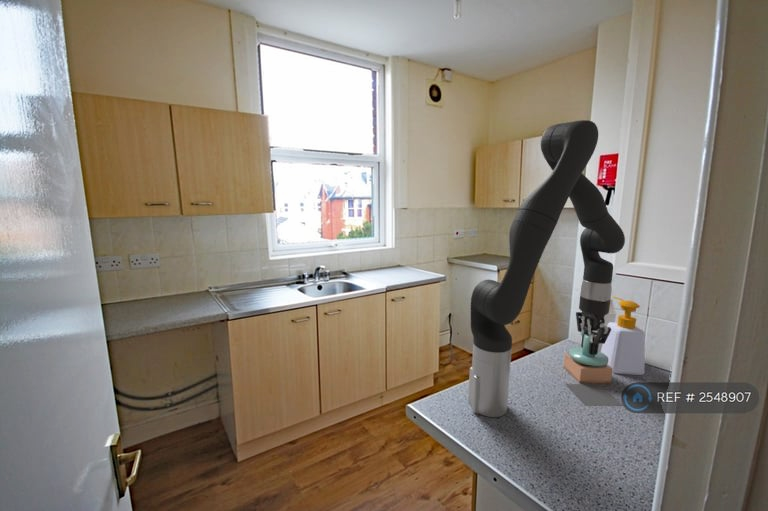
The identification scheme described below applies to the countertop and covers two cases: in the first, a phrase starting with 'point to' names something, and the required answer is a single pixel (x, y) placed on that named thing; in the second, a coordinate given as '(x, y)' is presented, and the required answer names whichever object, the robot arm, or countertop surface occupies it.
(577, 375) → the dish
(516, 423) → the countertop surface
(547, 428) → the countertop surface
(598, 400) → the mat
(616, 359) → the soap bottle
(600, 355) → the lid
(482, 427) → the countertop surface
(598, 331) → the robot arm
